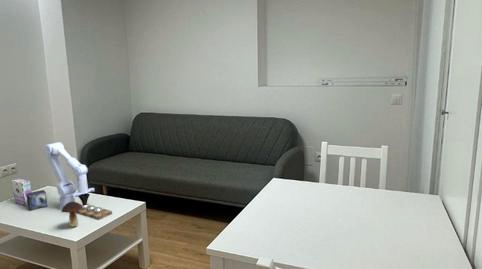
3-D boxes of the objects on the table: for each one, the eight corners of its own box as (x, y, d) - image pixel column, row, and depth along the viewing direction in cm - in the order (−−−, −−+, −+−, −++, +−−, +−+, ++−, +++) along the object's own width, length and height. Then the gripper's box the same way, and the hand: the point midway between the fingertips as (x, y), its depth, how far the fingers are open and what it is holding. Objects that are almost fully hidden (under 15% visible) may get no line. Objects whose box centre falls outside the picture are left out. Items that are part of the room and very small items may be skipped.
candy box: (34, 203, 241) (30, 180, 238) (25, 206, 236) (21, 183, 233) (23, 200, 248) (20, 177, 245) (14, 203, 243) (11, 180, 240)
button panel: (72, 212, 223) (71, 209, 223) (86, 206, 232) (85, 203, 231) (98, 219, 210) (98, 216, 210) (112, 214, 218) (111, 210, 218)
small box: (29, 211, 227) (27, 195, 226) (27, 208, 232) (25, 193, 230) (47, 206, 234) (45, 191, 232) (45, 204, 239) (43, 189, 237)
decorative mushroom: (59, 229, 199) (56, 204, 196) (75, 221, 209) (72, 197, 206) (73, 232, 195) (70, 206, 192) (89, 224, 204) (86, 199, 202)
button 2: (93, 215, 217) (92, 209, 216) (99, 213, 220) (98, 206, 220) (97, 216, 215) (97, 210, 214) (103, 214, 218) (103, 207, 217)
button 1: (80, 211, 224) (79, 205, 223) (86, 209, 227) (85, 203, 226) (84, 213, 221) (83, 206, 221) (90, 210, 225) (90, 204, 224)
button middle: (86, 213, 220) (85, 207, 219) (92, 211, 224) (92, 204, 223) (91, 214, 218) (90, 208, 217) (97, 212, 222) (96, 206, 221)
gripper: (75, 189, 213) (78, 210, 215) (96, 182, 225) (98, 202, 228) (68, 187, 217) (71, 208, 219) (89, 180, 229) (91, 200, 231)
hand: (84, 205), depth 224 cm, fingers closed, pressing on button 1
